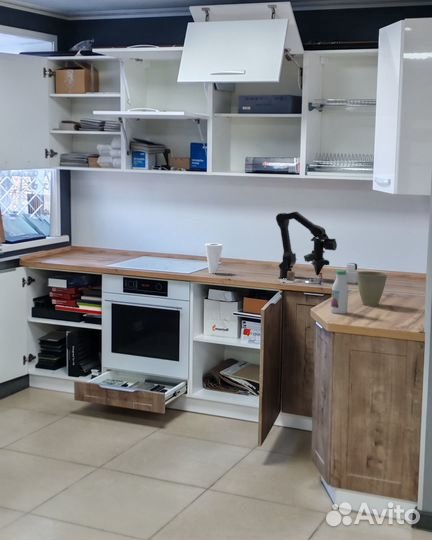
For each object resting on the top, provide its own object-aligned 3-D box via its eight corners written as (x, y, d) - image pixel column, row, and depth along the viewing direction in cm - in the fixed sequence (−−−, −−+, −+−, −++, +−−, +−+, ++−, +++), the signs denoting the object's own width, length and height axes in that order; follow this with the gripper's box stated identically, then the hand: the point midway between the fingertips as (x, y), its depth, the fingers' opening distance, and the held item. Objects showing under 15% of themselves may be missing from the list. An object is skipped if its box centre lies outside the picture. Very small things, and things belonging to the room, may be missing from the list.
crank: (311, 284, 443) (311, 275, 442) (300, 281, 450) (300, 273, 449) (327, 282, 450) (327, 273, 450) (315, 280, 457) (316, 271, 457)
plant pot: (364, 300, 401) (365, 270, 399) (390, 304, 392) (392, 273, 390) (349, 304, 390) (351, 273, 387) (376, 308, 380) (378, 276, 378)
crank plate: (296, 284, 448) (296, 277, 447) (310, 281, 458) (310, 275, 458) (319, 287, 438) (319, 280, 437) (333, 285, 448) (333, 278, 447)
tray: (279, 282, 452) (279, 279, 452) (289, 281, 459) (289, 278, 459) (292, 284, 446) (292, 281, 446) (301, 283, 453) (301, 280, 453)
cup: (201, 272, 482) (202, 243, 479) (217, 271, 486) (218, 243, 484) (208, 275, 472) (209, 245, 470) (224, 274, 477) (225, 245, 474)
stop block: (286, 282, 451) (287, 272, 450) (287, 281, 455) (288, 271, 454) (293, 282, 450) (294, 272, 449) (294, 281, 454) (294, 271, 453)
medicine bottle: (347, 282, 462) (348, 262, 460) (358, 283, 458) (360, 263, 456) (343, 283, 455) (344, 263, 454) (354, 285, 452) (355, 264, 450)
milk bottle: (345, 311, 372) (347, 269, 369) (348, 314, 364) (351, 272, 361) (329, 310, 372) (331, 269, 369) (332, 313, 364) (334, 271, 361)
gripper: (299, 247, 461) (298, 273, 464) (312, 251, 444) (311, 278, 446) (316, 247, 465) (315, 272, 467) (330, 250, 447) (329, 277, 450)
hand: (317, 275), depth 457 cm, fingers closed
